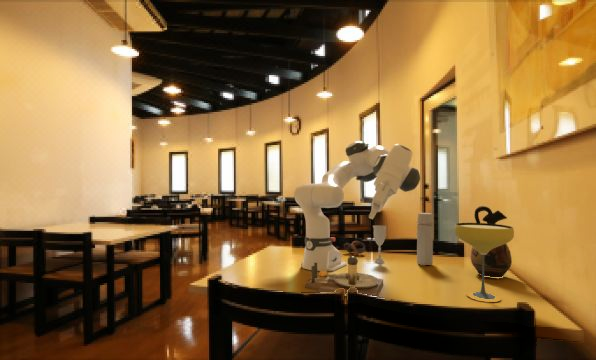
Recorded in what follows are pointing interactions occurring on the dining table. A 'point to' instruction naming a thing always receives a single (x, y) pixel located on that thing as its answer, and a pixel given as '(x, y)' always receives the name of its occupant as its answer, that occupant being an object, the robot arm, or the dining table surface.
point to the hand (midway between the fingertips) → (370, 218)
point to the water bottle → (425, 239)
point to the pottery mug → (354, 247)
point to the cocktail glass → (484, 242)
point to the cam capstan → (352, 277)
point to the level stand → (330, 285)
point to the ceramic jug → (497, 257)
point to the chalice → (379, 240)
